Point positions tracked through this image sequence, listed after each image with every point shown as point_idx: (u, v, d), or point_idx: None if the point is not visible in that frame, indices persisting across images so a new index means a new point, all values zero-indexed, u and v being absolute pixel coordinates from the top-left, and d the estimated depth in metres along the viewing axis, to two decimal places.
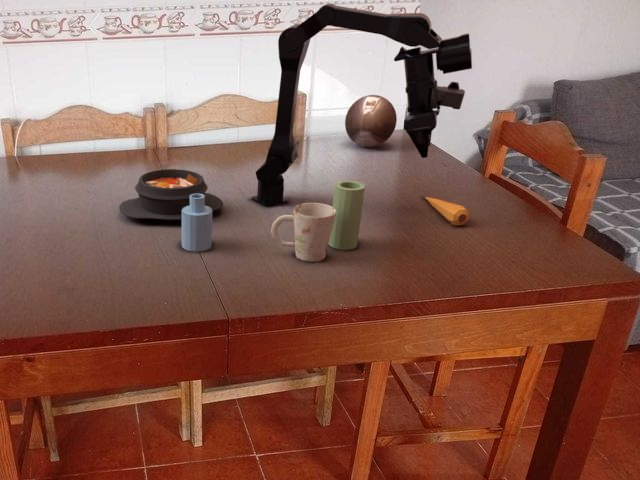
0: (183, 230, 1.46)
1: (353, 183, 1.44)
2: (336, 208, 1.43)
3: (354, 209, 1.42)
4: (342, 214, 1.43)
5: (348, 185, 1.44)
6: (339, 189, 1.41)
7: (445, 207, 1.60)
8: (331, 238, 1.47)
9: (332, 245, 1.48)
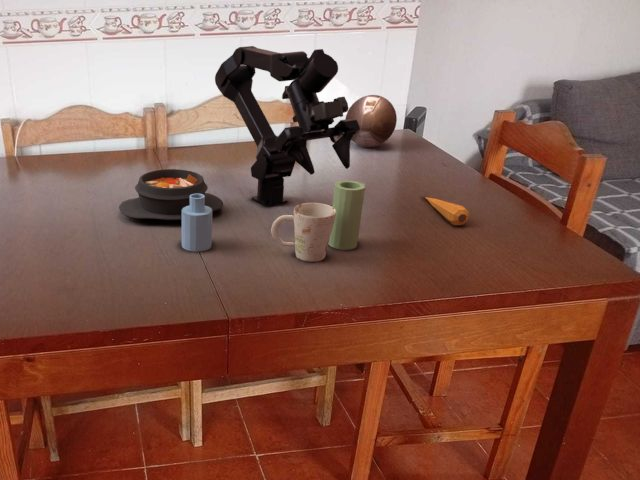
0: (183, 230, 1.46)
1: (353, 183, 1.44)
2: (336, 208, 1.43)
3: (354, 209, 1.42)
4: (342, 214, 1.43)
5: (348, 185, 1.44)
6: (339, 189, 1.41)
7: (445, 207, 1.60)
8: (331, 238, 1.47)
9: (332, 245, 1.48)
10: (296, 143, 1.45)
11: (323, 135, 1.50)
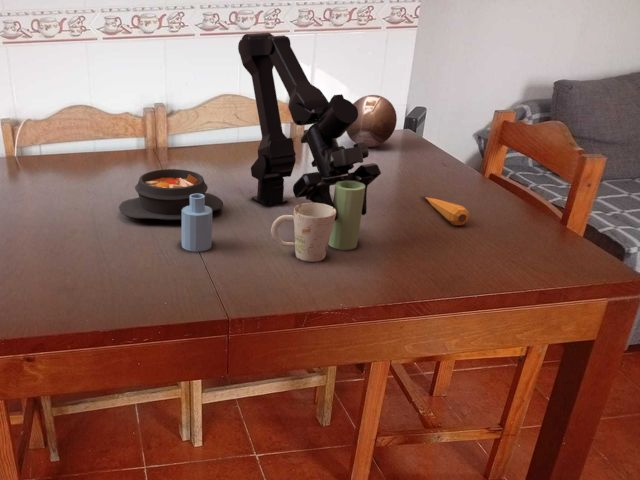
0: (183, 230, 1.46)
1: (353, 183, 1.44)
2: (336, 208, 1.43)
3: (354, 209, 1.42)
4: (342, 214, 1.43)
5: (348, 185, 1.44)
6: (339, 189, 1.41)
7: (445, 207, 1.60)
8: (331, 238, 1.47)
9: (332, 245, 1.48)
10: (319, 189, 1.42)
11: (347, 180, 1.47)
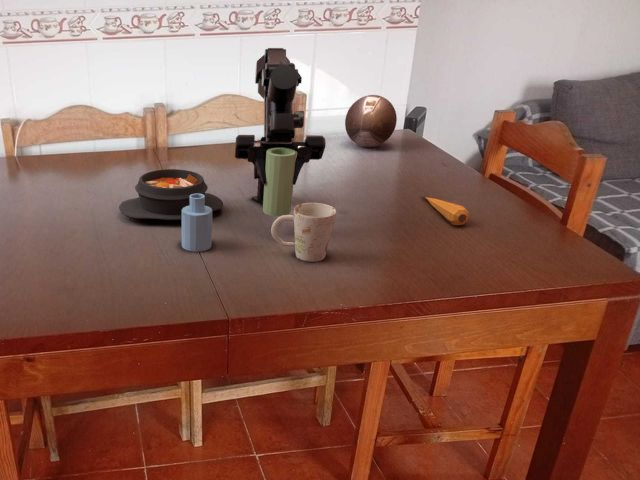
0: (183, 230, 1.46)
1: (288, 151, 1.46)
2: (265, 172, 1.47)
3: (279, 176, 1.44)
4: (268, 179, 1.46)
5: (284, 152, 1.46)
6: (266, 153, 1.44)
7: (445, 207, 1.60)
8: (263, 202, 1.51)
9: (263, 210, 1.51)
10: (252, 151, 1.47)
11: (292, 148, 1.48)
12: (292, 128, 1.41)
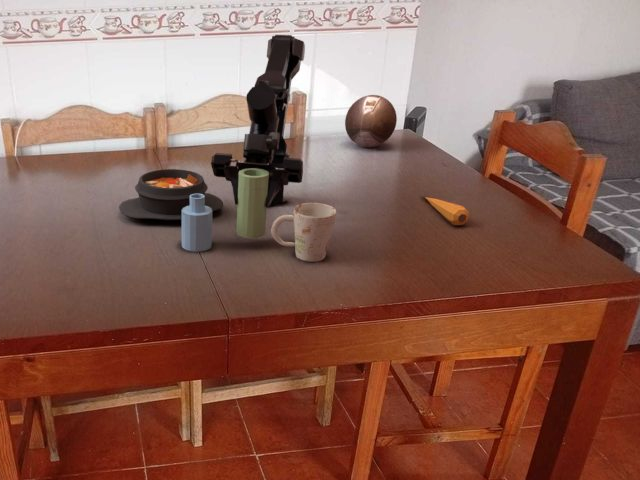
0: (183, 230, 1.46)
1: (262, 172, 1.42)
2: (238, 193, 1.44)
3: (248, 197, 1.41)
4: (239, 199, 1.43)
5: (259, 173, 1.43)
6: None
7: (445, 207, 1.60)
8: None
9: None
10: (227, 170, 1.44)
11: (269, 169, 1.44)
12: (264, 149, 1.38)
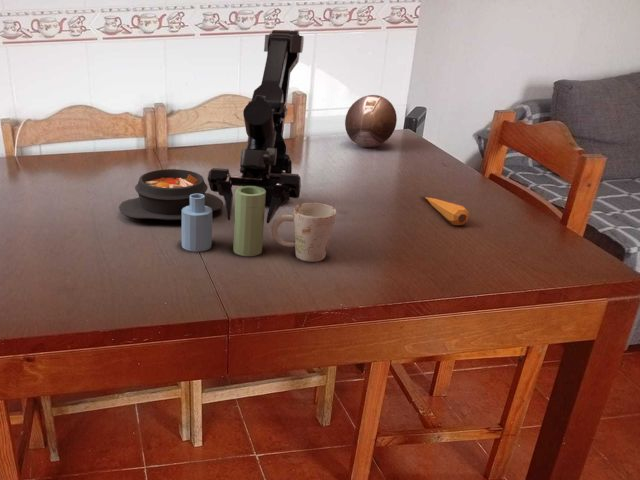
0: (183, 230, 1.46)
1: (259, 190, 1.41)
2: None
3: (245, 215, 1.40)
4: (236, 217, 1.42)
5: (256, 191, 1.41)
6: None
7: (445, 207, 1.60)
8: None
9: (233, 248, 1.47)
10: (220, 185, 1.43)
11: (262, 185, 1.43)
12: (261, 165, 1.36)
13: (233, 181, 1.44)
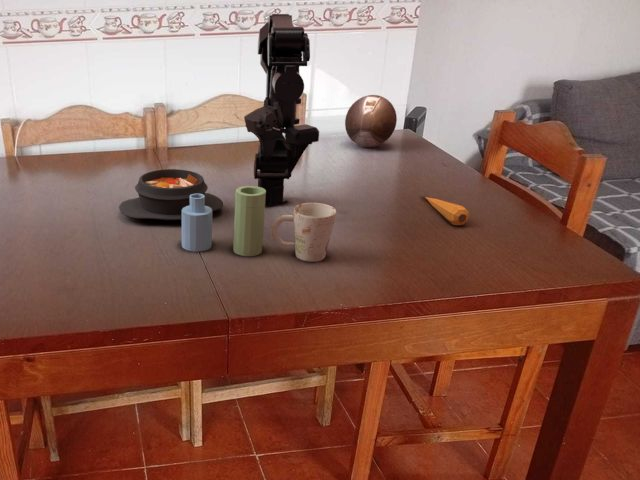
0: (183, 230, 1.46)
1: (259, 190, 1.41)
2: None
3: (245, 215, 1.40)
4: (236, 217, 1.42)
5: (256, 191, 1.41)
6: None
7: (445, 207, 1.60)
8: None
9: (233, 248, 1.47)
10: None
11: (284, 132, 1.47)
12: (257, 133, 1.44)
13: None
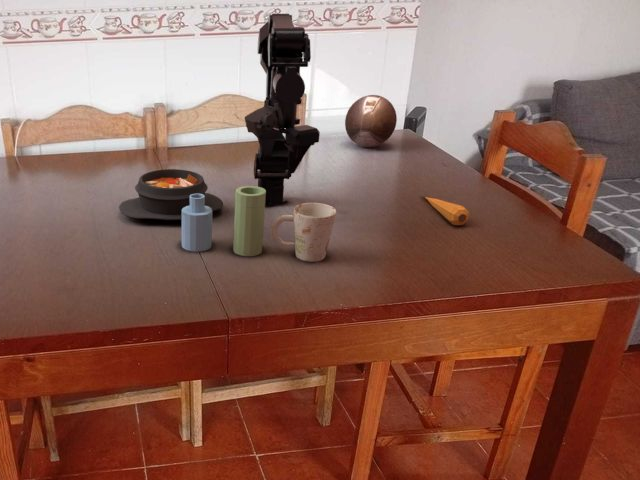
0: (183, 230, 1.46)
1: (259, 190, 1.41)
2: None
3: (245, 215, 1.40)
4: (236, 217, 1.42)
5: (256, 191, 1.41)
6: None
7: (445, 207, 1.60)
8: None
9: (233, 248, 1.47)
10: None
11: (283, 132, 1.48)
12: (258, 134, 1.44)
13: None
